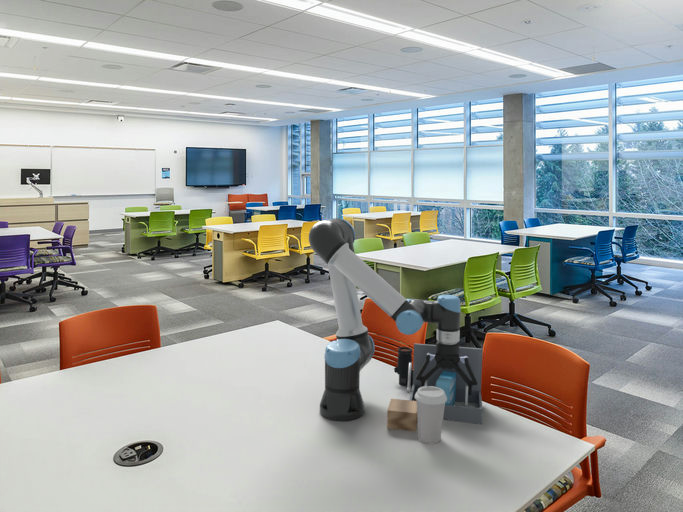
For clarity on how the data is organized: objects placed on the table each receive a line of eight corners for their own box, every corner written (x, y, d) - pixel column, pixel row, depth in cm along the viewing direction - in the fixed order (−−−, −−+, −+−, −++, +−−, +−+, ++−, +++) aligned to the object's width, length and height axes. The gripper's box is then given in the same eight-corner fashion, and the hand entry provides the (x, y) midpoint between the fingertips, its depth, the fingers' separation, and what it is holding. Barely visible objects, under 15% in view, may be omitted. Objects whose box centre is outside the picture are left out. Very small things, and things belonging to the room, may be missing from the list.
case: (403, 415, 168) (404, 357, 165) (408, 396, 183) (409, 343, 180) (482, 424, 162) (484, 364, 159) (480, 403, 177) (482, 348, 175)
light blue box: (448, 418, 166) (449, 383, 164) (434, 415, 168) (435, 381, 166) (455, 404, 177) (456, 371, 175) (442, 401, 179) (443, 369, 177)
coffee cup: (447, 433, 156) (449, 387, 154) (443, 448, 147) (445, 399, 145) (416, 428, 159) (418, 383, 157) (410, 443, 150) (412, 395, 148)
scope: (420, 353, 188) (393, 351, 190) (419, 389, 189) (392, 386, 192) (421, 347, 195) (396, 345, 198) (420, 381, 197) (395, 378, 200)
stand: (387, 428, 159) (387, 410, 158) (390, 415, 168) (391, 398, 167) (415, 431, 157) (416, 413, 156) (418, 418, 166) (418, 401, 165)
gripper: (409, 342, 168) (407, 402, 171) (487, 347, 163) (484, 410, 166) (411, 335, 175) (410, 393, 178) (485, 340, 170) (483, 400, 173)
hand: (445, 401), depth 172 cm, fingers open, 13 cm apart
